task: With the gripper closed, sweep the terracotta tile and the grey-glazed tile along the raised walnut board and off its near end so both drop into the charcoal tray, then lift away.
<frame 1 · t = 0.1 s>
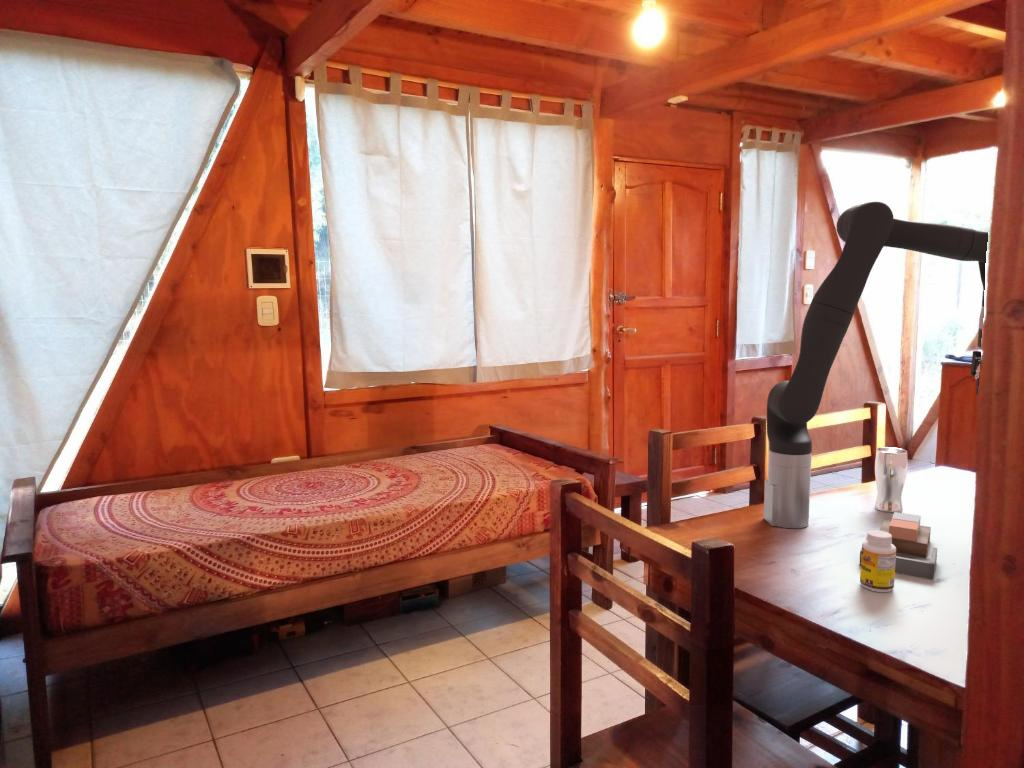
hand: (993, 398, 158), 29 cm above the table, fingers open, 8 cm apart
grey tile: (905, 528, 151), point 3 cm above the table, touching walnut board
charcoal tray: (898, 563, 139), on the table
walnut board: (903, 545, 149), on the table
beer glass: (888, 510, 173), on the table
terracotta tile: (903, 535, 146), point 3 cm above the table, touching walnut board
supplement bottle: (876, 588, 129), on the table
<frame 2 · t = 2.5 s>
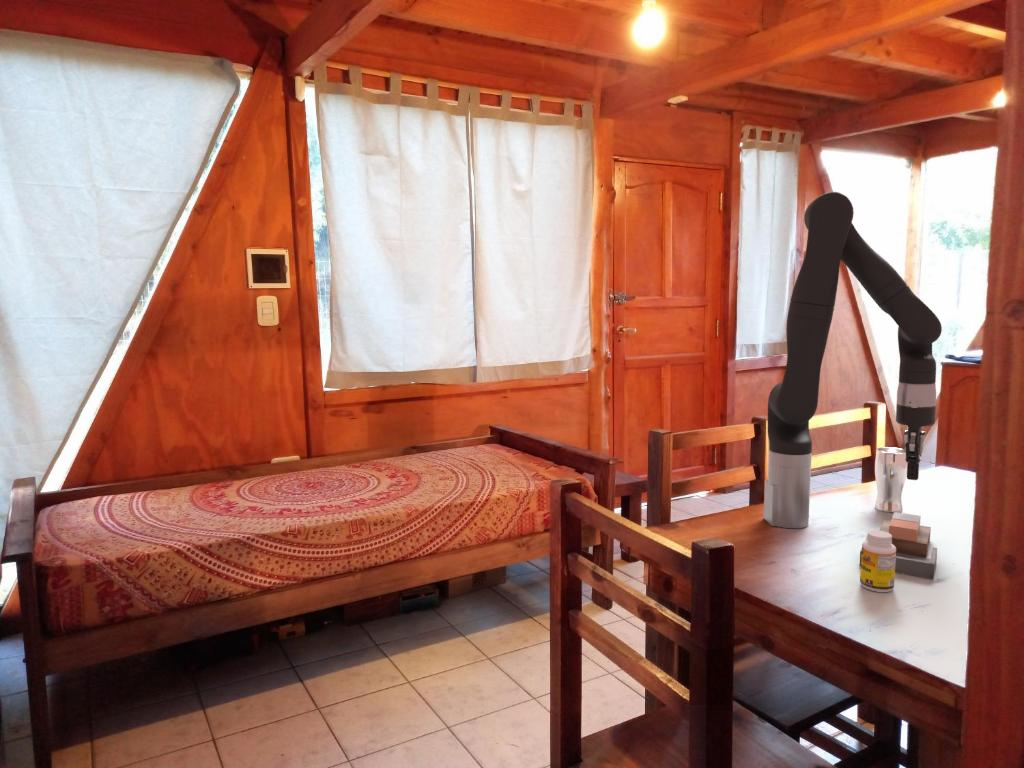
hand: (912, 479, 157), 12 cm above the table, fingers closed
nothing on the table moved.
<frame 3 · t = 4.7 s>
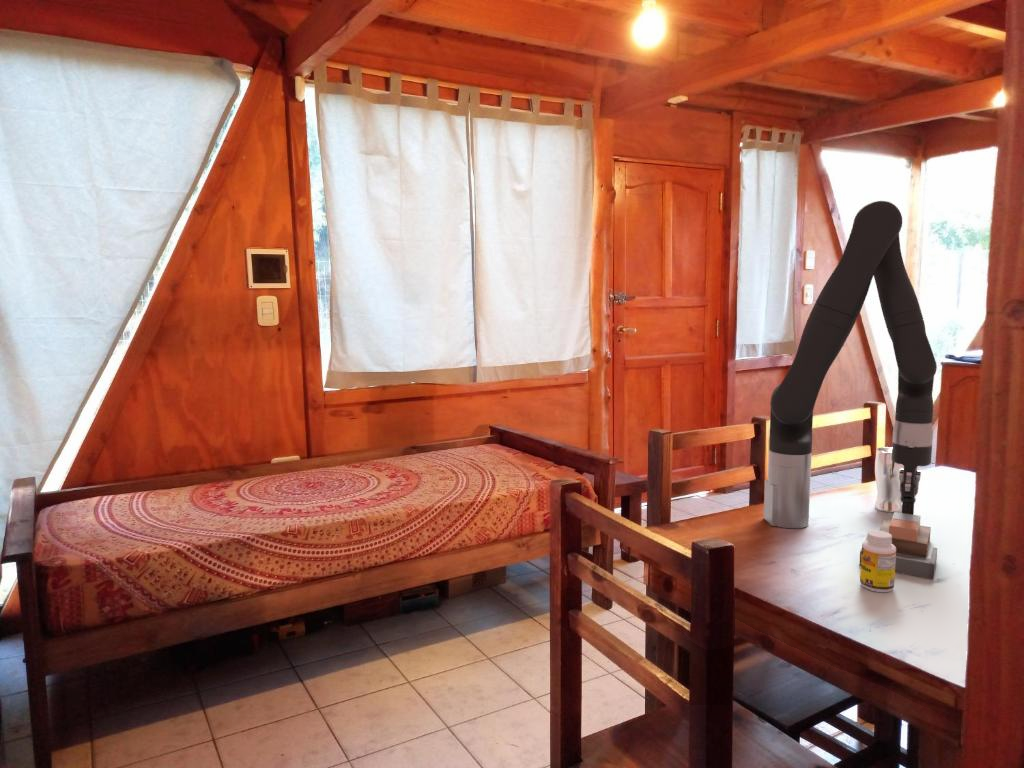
hand: (907, 518, 154), 4 cm above the table, fingers closed
grey tile: (905, 528, 151), point 3 cm above the table, touching gripper, walnut board
everything else where it was.
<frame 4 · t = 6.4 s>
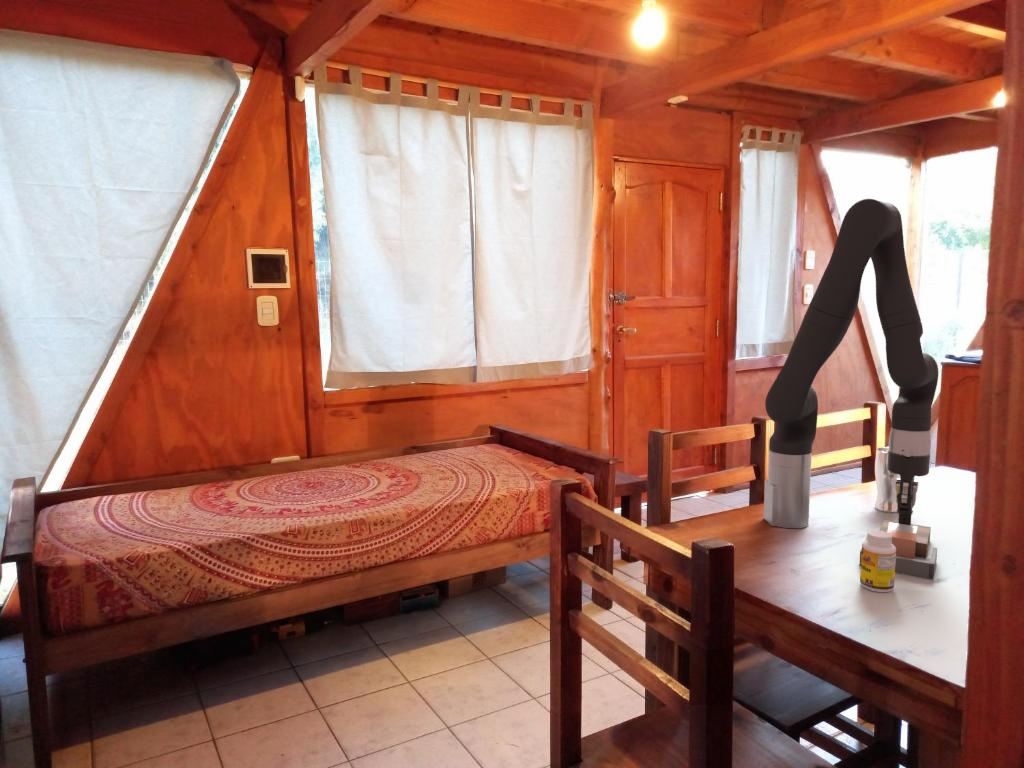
hand: (904, 531, 146), 4 cm above the table, fingers closed
grey tile: (901, 541, 143), point 3 cm above the table, tilted 16°, touching gripper, terracotta tile
terracotta tile: (901, 541, 141), point 4 cm above the table, tilted 106°, touching charcoal tray, grey tile
everything else where it was.
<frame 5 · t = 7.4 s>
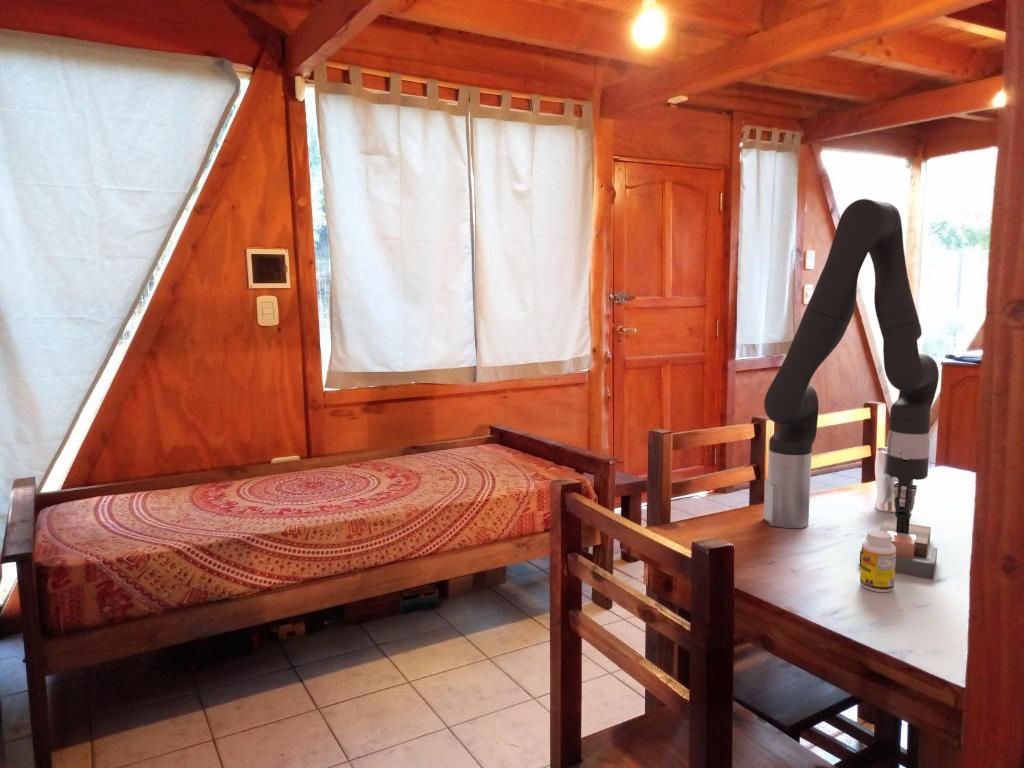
hand: (902, 535, 144), 4 cm above the table, fingers closed
grey tile: (900, 550, 141), point 2 cm above the table, tilted 13°, touching gripper, terracotta tile
terracotta tile: (899, 546, 139), point 4 cm above the table, tilted 103°, touching charcoal tray, grey tile
everything else where it was.
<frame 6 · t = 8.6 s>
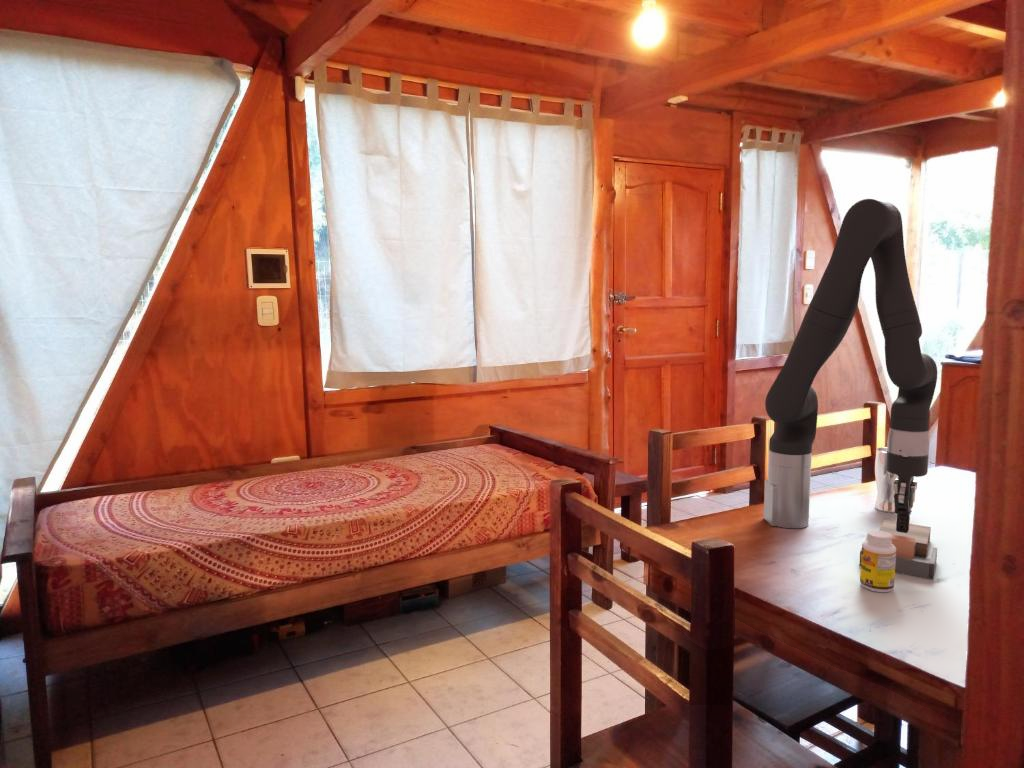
hand: (902, 531, 146), 4 cm above the table, fingers closed
grey tile: (899, 555, 142), point 1 cm above the table, touching charcoal tray
terracotta tile: (899, 548, 139), point 3 cm above the table, tilted 90°, touching charcoal tray
everything else where it was.
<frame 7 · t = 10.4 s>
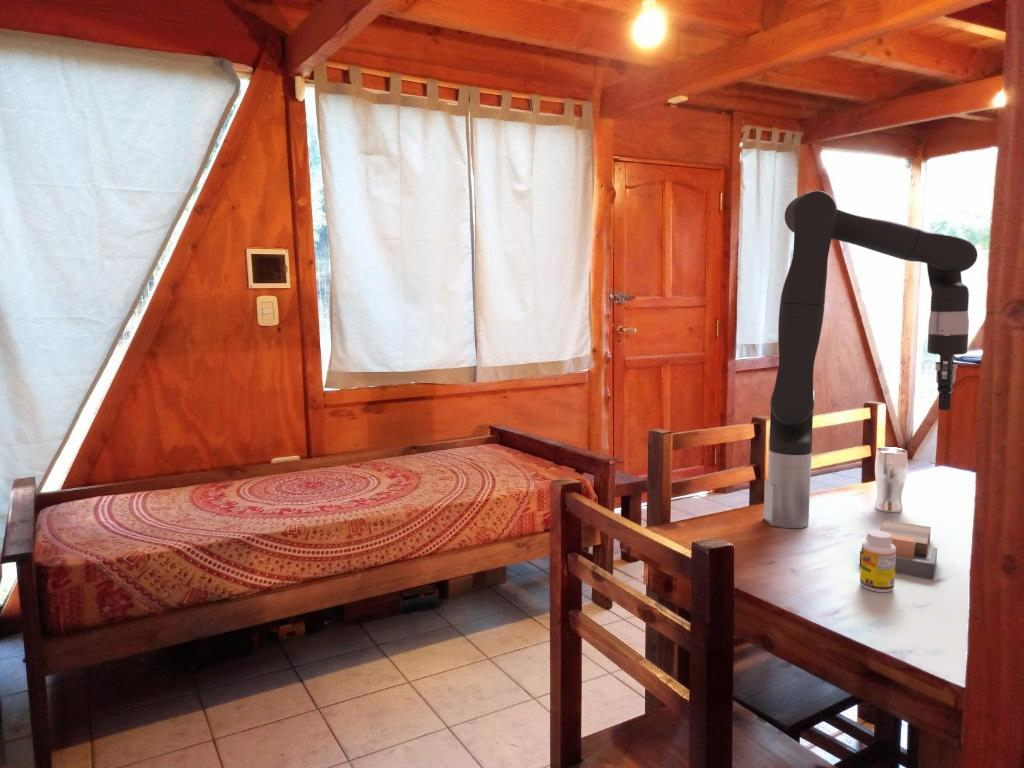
hand: (944, 409, 156), 27 cm above the table, fingers closed
nothing on the table moved.
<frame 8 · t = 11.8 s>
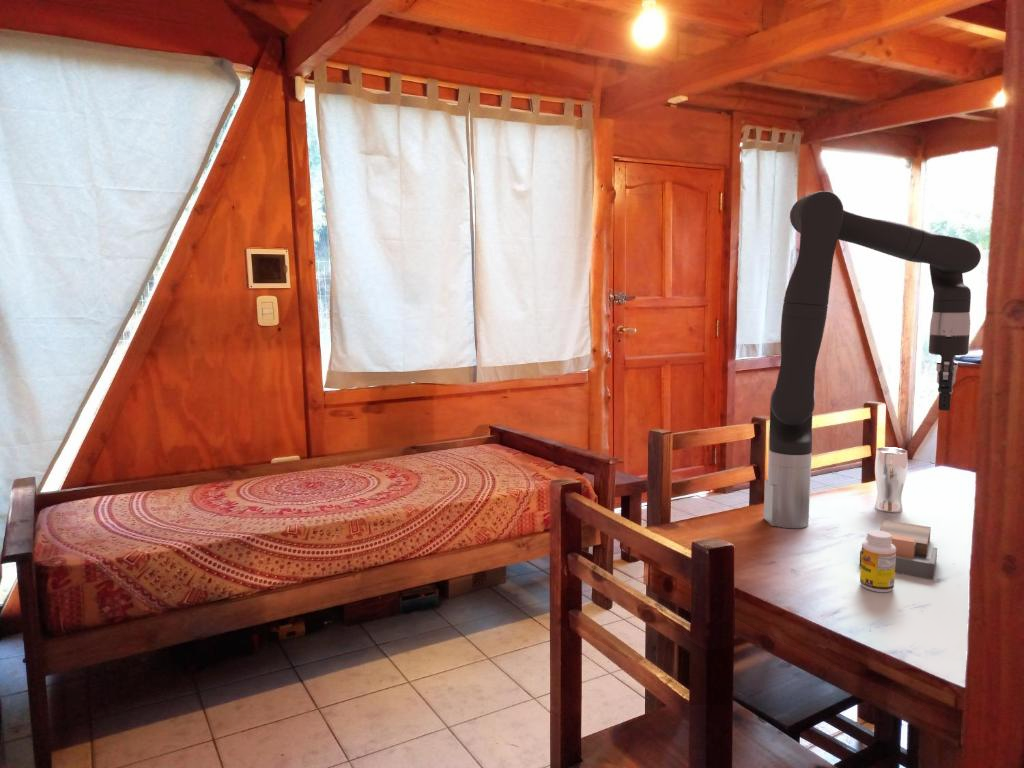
hand: (944, 409, 157), 27 cm above the table, fingers closed
nothing on the table moved.
at the end: terracotta tile 0.4 cm from the charcoal tray (horizontally); grey tile 3.0 cm from the charcoal tray (horizontally); grey tile moved 11.6 cm from its start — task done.
